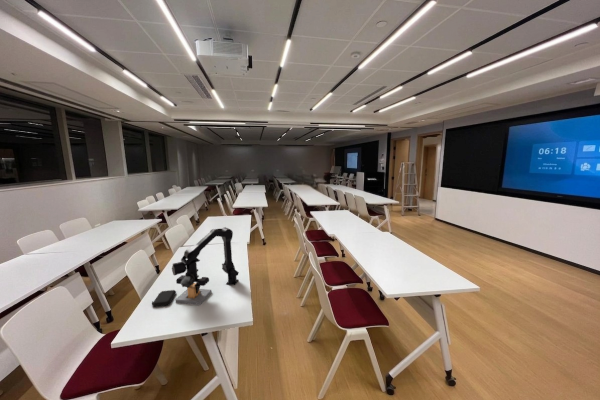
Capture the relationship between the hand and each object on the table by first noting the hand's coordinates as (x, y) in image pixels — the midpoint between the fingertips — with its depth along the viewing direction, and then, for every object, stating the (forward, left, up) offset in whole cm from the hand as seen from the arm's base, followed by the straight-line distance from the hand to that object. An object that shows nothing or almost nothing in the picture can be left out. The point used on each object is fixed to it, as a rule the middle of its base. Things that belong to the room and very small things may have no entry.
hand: (193, 292), depth 147 cm
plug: (0, 0, -2) cm, 2 cm away
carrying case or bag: (+5, -17, -4) cm, 18 cm away
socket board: (0, 0, -3) cm, 3 cm away
